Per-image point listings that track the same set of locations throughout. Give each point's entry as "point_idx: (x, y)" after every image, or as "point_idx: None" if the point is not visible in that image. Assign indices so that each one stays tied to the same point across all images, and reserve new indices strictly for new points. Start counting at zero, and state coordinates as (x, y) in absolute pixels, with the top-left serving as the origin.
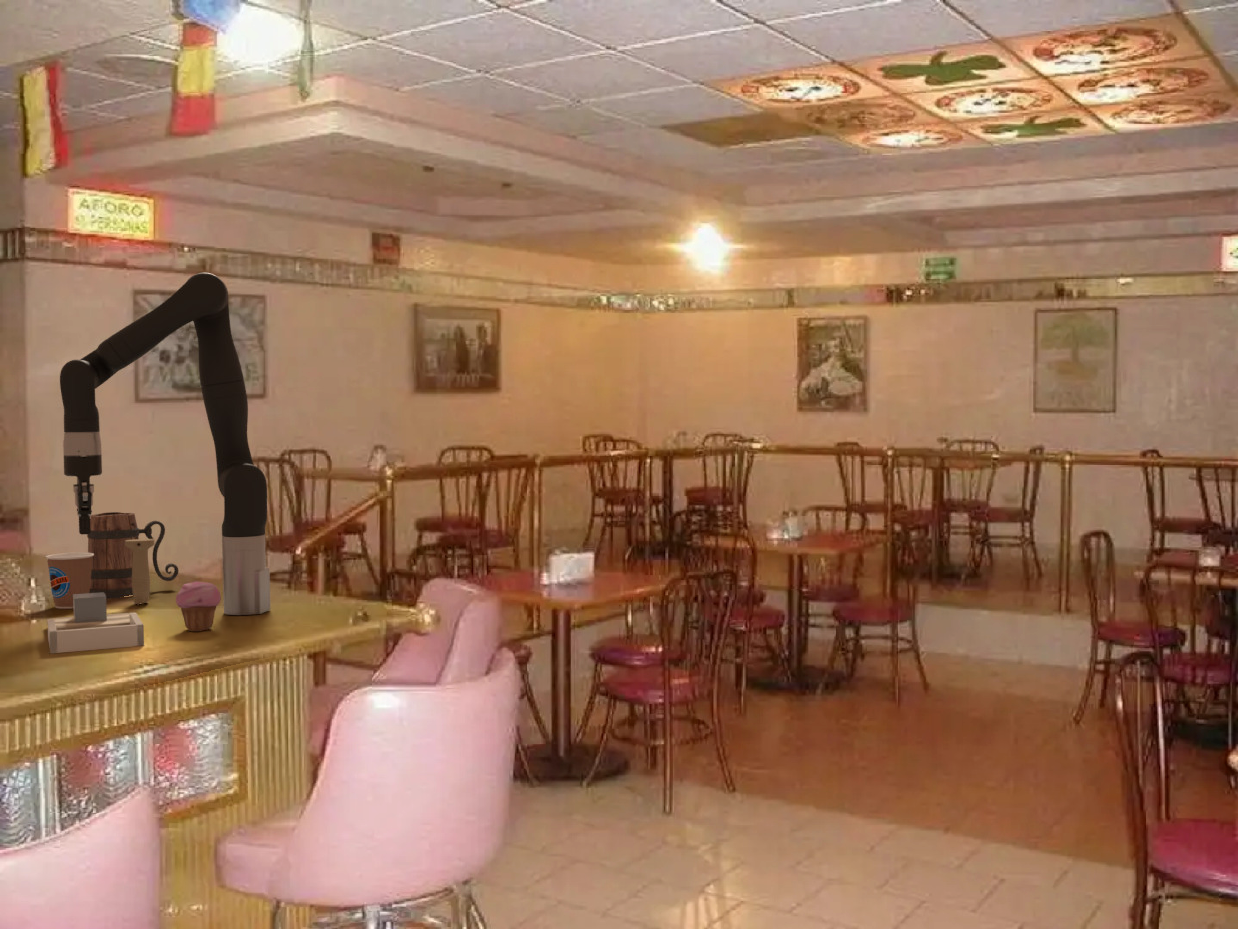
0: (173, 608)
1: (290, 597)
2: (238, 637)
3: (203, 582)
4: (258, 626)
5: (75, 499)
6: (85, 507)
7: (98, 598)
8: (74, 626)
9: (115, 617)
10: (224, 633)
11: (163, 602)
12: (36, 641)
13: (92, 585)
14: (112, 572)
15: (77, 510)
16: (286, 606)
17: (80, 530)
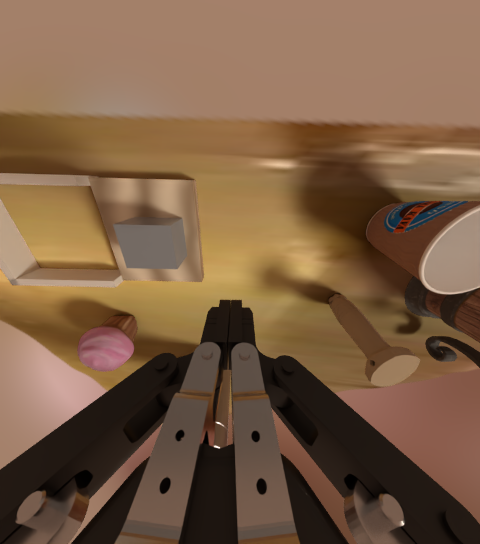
0: (278, 320)
1: None
2: (78, 339)
3: (97, 367)
4: (133, 356)
5: (185, 444)
6: (276, 402)
7: (125, 257)
8: (103, 213)
9: None
10: None
11: (330, 317)
12: (81, 158)
13: None
14: (458, 298)
15: (283, 366)
16: None
17: (219, 307)
